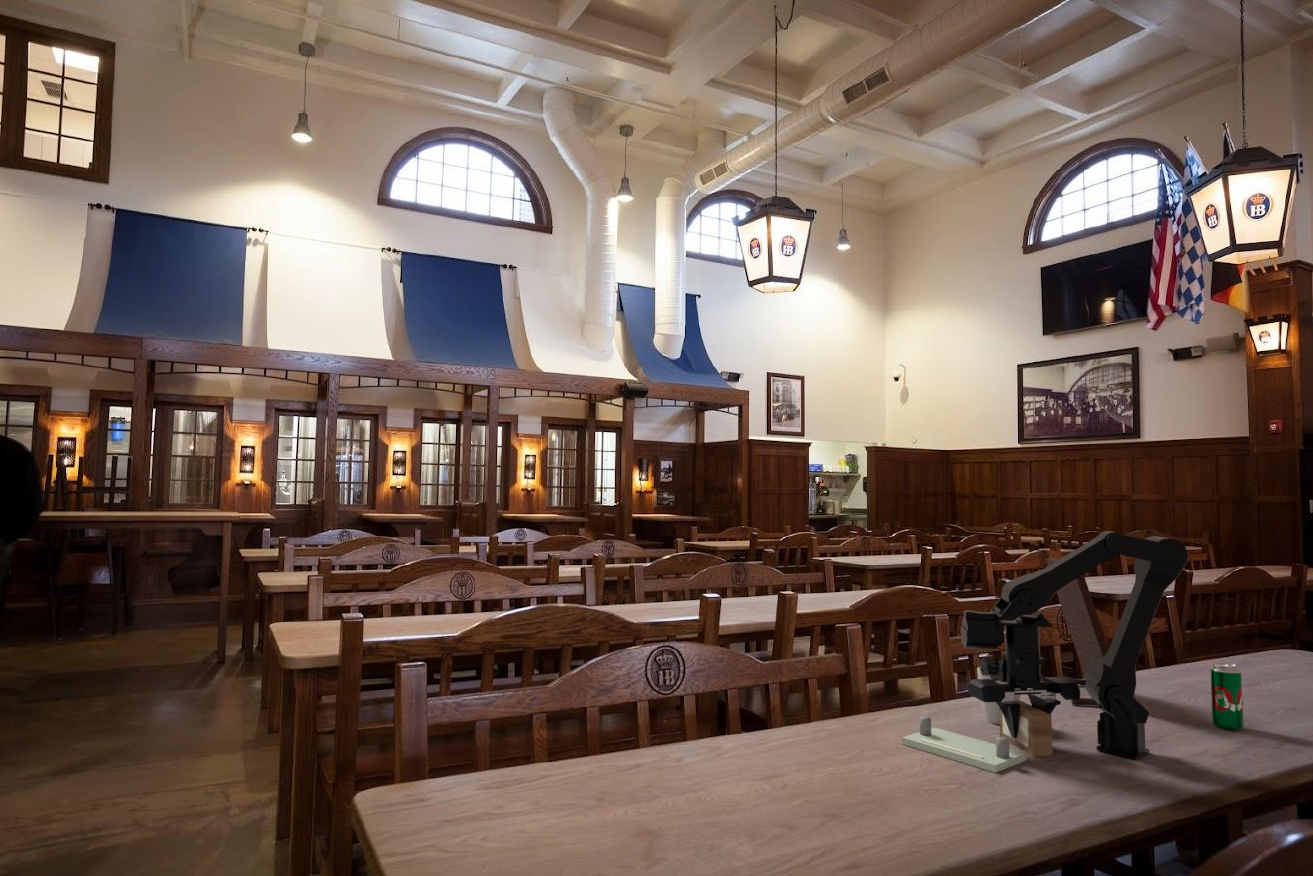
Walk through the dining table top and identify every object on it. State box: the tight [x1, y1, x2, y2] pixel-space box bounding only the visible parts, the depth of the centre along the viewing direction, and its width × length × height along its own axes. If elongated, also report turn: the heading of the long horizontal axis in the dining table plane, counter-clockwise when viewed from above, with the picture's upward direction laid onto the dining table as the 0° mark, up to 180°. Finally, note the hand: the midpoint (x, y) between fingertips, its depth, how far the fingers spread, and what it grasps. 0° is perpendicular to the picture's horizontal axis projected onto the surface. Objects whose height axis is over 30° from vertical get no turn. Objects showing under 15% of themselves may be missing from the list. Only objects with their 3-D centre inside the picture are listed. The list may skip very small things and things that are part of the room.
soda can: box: [1209, 662, 1245, 732], centre depth 155 cm, size 5×5×12 cm
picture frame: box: [1045, 556, 1110, 706], centre depth 179 cm, size 21×11×30 cm, turn 168°
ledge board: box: [901, 715, 1028, 773], centre depth 140 cm, size 18×10×4 cm, turn 37°
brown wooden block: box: [999, 699, 1053, 757], centre depth 143 cm, size 10×4×7 cm, turn 7°
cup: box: [976, 666, 1021, 725], centre depth 159 cm, size 8×8×10 cm
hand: (1024, 737), depth 143 cm, fingers closed on brown wooden block, 4 cm apart
